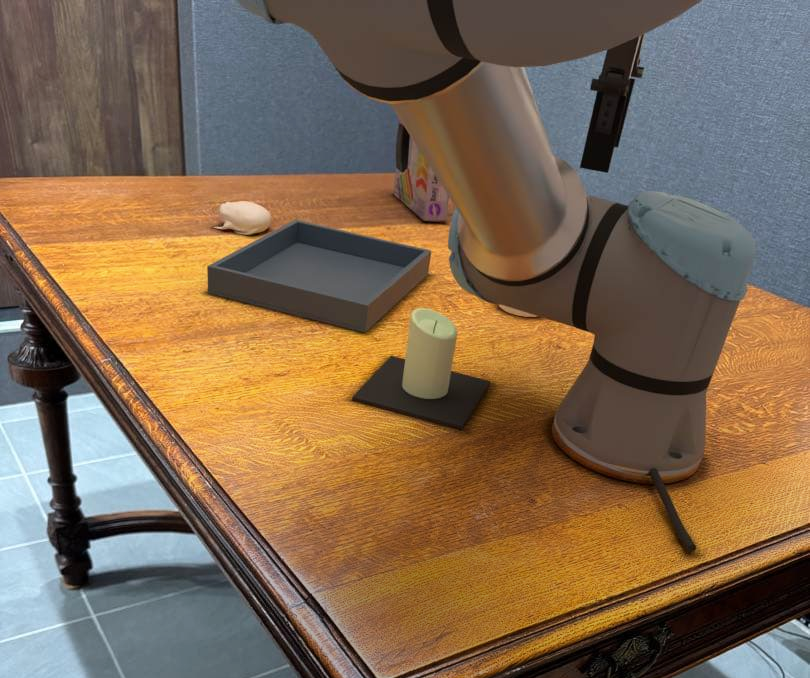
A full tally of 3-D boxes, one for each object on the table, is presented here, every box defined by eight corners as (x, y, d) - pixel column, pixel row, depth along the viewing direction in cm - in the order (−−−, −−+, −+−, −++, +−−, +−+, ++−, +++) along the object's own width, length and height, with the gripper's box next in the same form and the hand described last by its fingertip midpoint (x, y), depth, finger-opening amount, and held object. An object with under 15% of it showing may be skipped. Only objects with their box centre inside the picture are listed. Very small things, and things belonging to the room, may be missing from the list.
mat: (461, 429, 82) (462, 426, 82) (351, 400, 84) (352, 396, 84) (490, 384, 91) (490, 381, 91) (390, 358, 94) (391, 355, 93)
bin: (365, 333, 99) (367, 305, 97) (207, 293, 103) (206, 265, 101) (428, 274, 119) (431, 250, 117) (294, 243, 123) (295, 219, 121)
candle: (456, 389, 88) (468, 317, 83) (433, 404, 85) (444, 330, 80) (417, 374, 90) (427, 303, 85) (393, 388, 87) (402, 315, 82)
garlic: (209, 228, 124) (209, 202, 121) (230, 218, 129) (230, 193, 127) (257, 239, 122) (257, 213, 120) (276, 228, 128) (277, 203, 125)
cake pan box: (388, 192, 153) (399, 87, 143) (413, 193, 155) (425, 89, 144) (420, 223, 139) (434, 109, 129) (447, 224, 141) (463, 111, 130)
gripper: (629, -104, 80) (577, 130, 93) (609, -126, 61) (547, 174, 74) (705, -94, 79) (642, 142, 92) (710, -113, 60) (629, 189, 72)
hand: (600, 156), depth 83 cm, fingers open, 13 cm apart
